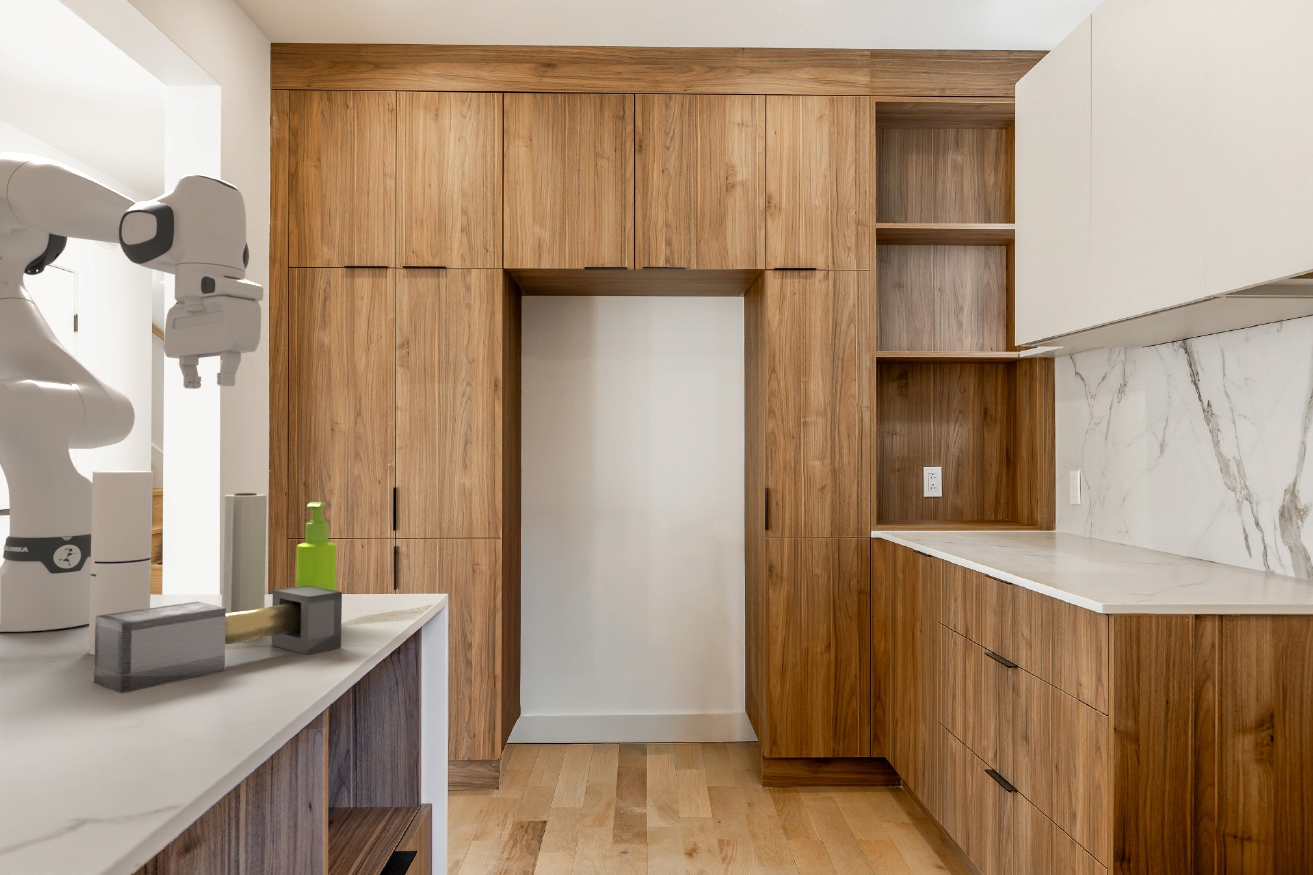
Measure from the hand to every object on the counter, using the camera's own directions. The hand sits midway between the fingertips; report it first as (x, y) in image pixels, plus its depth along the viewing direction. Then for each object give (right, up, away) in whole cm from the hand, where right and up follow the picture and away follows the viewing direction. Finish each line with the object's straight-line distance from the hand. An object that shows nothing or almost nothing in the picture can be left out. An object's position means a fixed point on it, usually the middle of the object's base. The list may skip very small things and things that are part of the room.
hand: (208, 387), depth 116 cm
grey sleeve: (+2, -37, -15) cm, 40 cm away
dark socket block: (+13, -37, +2) cm, 40 cm away
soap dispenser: (+9, -38, +15) cm, 41 cm away
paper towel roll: (-1, -38, +11) cm, 39 cm away
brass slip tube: (+9, -35, -5) cm, 36 cm away
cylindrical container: (-12, -37, -1) cm, 39 cm away
